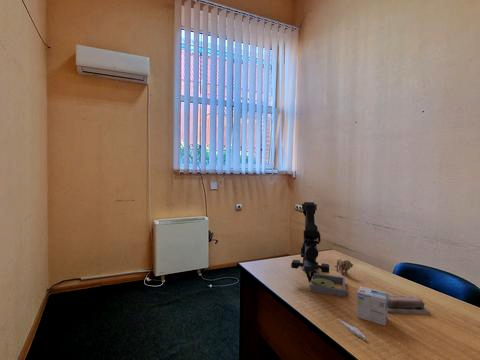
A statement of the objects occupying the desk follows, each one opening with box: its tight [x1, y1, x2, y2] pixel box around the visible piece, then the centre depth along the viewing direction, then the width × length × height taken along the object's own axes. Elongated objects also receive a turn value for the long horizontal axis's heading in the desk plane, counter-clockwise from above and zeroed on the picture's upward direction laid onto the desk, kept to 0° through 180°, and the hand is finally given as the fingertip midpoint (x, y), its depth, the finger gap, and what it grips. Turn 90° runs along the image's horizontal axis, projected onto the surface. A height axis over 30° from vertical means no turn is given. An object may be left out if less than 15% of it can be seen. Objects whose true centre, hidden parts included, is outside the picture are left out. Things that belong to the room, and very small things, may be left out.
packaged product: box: [387, 294, 431, 315], centre depth 117 cm, size 18×5×10 cm
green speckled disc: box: [310, 278, 335, 288], centre depth 137 cm, size 11×11×2 cm
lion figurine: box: [334, 258, 354, 276], centre depth 155 cm, size 15×5×9 cm, turn 14°
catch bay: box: [309, 273, 346, 298], centre depth 136 cm, size 16×16×3 cm
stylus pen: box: [336, 317, 367, 341], centre depth 101 cm, size 15×3×2 cm, turn 21°
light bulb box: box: [355, 286, 389, 326], centre depth 109 cm, size 11×7×11 cm, turn 56°
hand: (309, 282), depth 139 cm, fingers closed
